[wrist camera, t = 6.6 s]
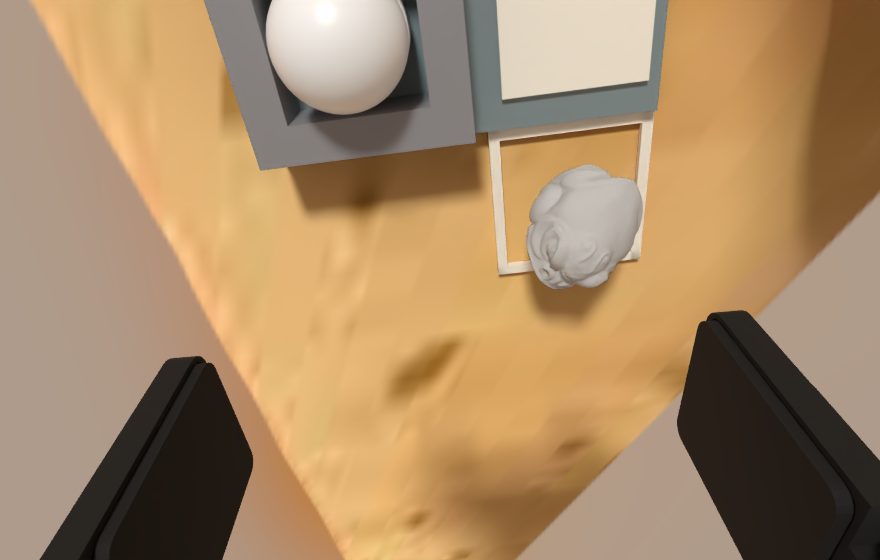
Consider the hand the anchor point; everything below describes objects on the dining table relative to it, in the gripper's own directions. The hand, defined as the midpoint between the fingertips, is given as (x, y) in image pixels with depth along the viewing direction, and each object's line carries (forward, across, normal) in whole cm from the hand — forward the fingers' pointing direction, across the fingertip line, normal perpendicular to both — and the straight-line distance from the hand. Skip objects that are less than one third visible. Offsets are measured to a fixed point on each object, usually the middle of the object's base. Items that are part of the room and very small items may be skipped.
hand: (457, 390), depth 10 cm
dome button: (+20, +4, -4) cm, 21 cm away
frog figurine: (+22, -7, +6) cm, 24 cm away
